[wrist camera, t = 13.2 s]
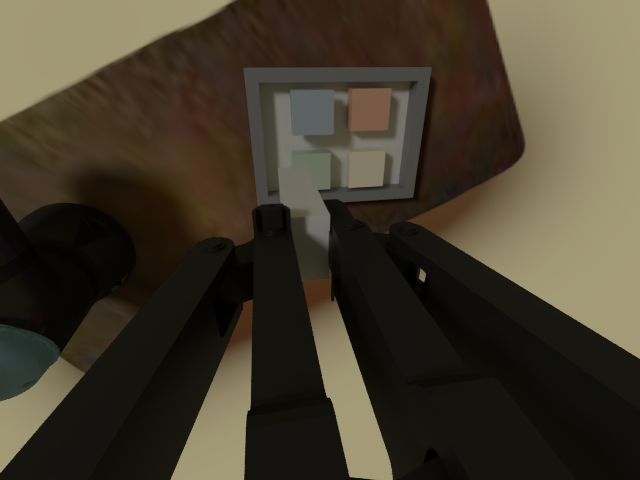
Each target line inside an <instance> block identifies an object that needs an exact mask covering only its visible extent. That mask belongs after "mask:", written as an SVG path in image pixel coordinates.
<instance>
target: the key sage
mask: <svg viewBox="0 0 640 480" xmlns="http://www.w3.org/2000/svg"><path fill="white" fill-rule="evenodd" d="M291 152H292V167H305V166H306V167H307V169H308V171H309V173H310V175H311V177H312V179H313V181H314V183H315V185H316V188H317V190H323V189H330V161H331V153H330V152H329V151H328V150H327V149H320V150H296V151H291Z"/></svg>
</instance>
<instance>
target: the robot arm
mask: <svg viewBox="0 0 640 480" xmlns="http://www.w3.org/2000/svg"><path fill="white" fill-rule="evenodd" d="M278 175H279V191H280V203H278V204H262V205H260V206H258V207H256V208H255V209H253V211H252V217H253V226H254V239H252V240H251V241H250V242H247V243H245V244H242V245H239V246H235V245H234V242H233V241H232V240H230V239H228V238H222V237H217V238H216V237H212V238H208V239H205V240H203V241H201V242H199V243H197V244H196V245H195V246H194V247H193V248H192V249H191V250H190V252H189V253H188V254H187V255H186V256H185V258H184V259H183V260H182V261H181V262H180V263H179V265H178V266H177V267H176V268H175V269H174V270H173V272H172V273H171V274H170V275H169V276H168V277H167V279H166V280H165V281H164V282H163V283H162V284H161V286H160V287H159V288H158V289H157V290H156V291H155V293H154V294H153V295H152V296H151V297H150V299H149V300H148V301H147V302H146V303H145V304H144V306H143V307H142V308H141V309H140V310H139V311H138V313H137V314H136V315H135V316H134V317H133V318H132V320H131V321H130V322H129V323H128V324H127V325H126V327H125V328H124V329H123V330H122V331H121V332H120V334H119V335H118V336H117V337H116V338H115V340H114V341H113V342H112V343H111V344H110V345H109V347H108V348H107V349H106V350H105V351H104V352H103V354H102V355H101V356H100V357H99V358H98V359H97V361H96V362H95V363H94V364H93V365H92V366H91V368H90V369H89V370H88V371H87V372H86V373H85V375H84V376H83V377H82V378H81V379H80V381H79V382H78V383H77V384H76V386H75V387H74V388H73V389H72V390H71V391H70V392H69V393H68V395H67V396H66V397H65V398H64V399H63V401H62V402H61V403H60V404H59V405H58V406H57V408H56V409H55V410H54V411H53V412H52V413H51V415H50V416H49V417H48V418H47V419H46V420H45V422H44V423H43V424H42V425H41V426H40V427H39V429H38V430H37V431H36V432H35V433H34V434H33V436H32V437H31V438H30V439H29V440H28V441H27V443H26V444H25V445H24V446H23V447H22V448H21V450H20V451H19V452H18V453H17V454H16V455H15V457H14V458H13V459H12V460H11V461H10V463H9V464H8V465H7V466H6V467H5V468H4V470H3V471H2V472H1V473H0V480H170V479H171V476H172V475H173V472H174V470H175V468H176V465H177V463H178V461H179V458H180V456H181V453H182V451H183V449H184V446H185V444H186V442H187V439H188V437H189V435H190V432H191V430H192V428H193V425H194V423H195V421H196V418H197V416H198V413H199V411H200V409H201V406H202V404H203V402H204V399H205V397H206V395H207V392H208V390H209V388H210V385H211V383H212V381H213V378H214V376H215V373H216V371H217V368H218V366H219V364H220V362H221V359H222V357H223V355H224V352H225V350H226V347H227V344H228V343H229V341H230V338H231V336H232V333H233V331H234V329H235V326H236V324H237V322H238V319H239V317H240V315H241V312H242V310H243V302H246V301H249V300H252V299H253V323H252V373H251V375H252V376H251V409H250V411H248V413H247V421H246V443H245V445H246V446H245V474H244V480H371V479H363V478H352V477H349V473H348V468H347V464H346V459H345V455H344V451H343V446H342V442H341V437H340V433H339V429H338V425H337V420H336V415H335V411H334V408H333V404H332V401H331V399H330V398H327V396H326V393H325V389H324V384H323V379H322V374H321V369H320V365H319V360H318V356H317V350H316V346H315V341H314V336H313V331H312V327H311V322H310V317H309V312H308V308H307V303H306V299H305V294H304V289H303V284H302V281H305V280H316V279H327V278H329V267H330V270H331V273H332V283H331V301H334V296H335V297H336V300H337V303H338V306H339V309H340V312H341V315H342V318H343V321H344V324H345V327H346V330H347V333H348V336H349V339H350V342H351V345H352V348H353V351H354V354H355V357H356V360H357V363H358V366H359V369H360V372H361V375H362V378H363V381H364V384H365V387H366V390H367V393H368V396H369V398H370V401H371V405H372V407H373V411H374V414H375V417H376V419H377V423H378V425H379V429H380V431H381V434H382V438H383V441H384V443H385V447H386V449H387V452H388V455H389V459H390V463H391V468H392V475H393V480H640V359H639V358H637V357H636V356H634V355H632V354H631V353H629V352H627V351H626V350H624V349H623V348H621V347H619V346H618V345H616V344H614V343H613V342H611V341H609V340H608V339H606V338H604V337H602V336H601V335H599V334H598V333H596V332H594V331H593V330H591V329H590V328H588V327H586V326H585V325H583V324H581V323H580V322H578V321H577V320H575V319H573V318H572V317H570V316H568V315H566V314H565V313H563V312H562V311H560V310H558V309H557V308H555V307H553V306H552V305H550V304H549V303H547V302H545V301H544V300H542V299H540V298H538V297H537V296H535V295H534V294H532V293H530V292H529V291H527V290H526V289H524V288H522V287H521V286H519V285H517V284H516V283H514V282H512V281H511V280H509V279H508V278H506V277H504V276H503V275H501V274H499V273H498V272H496V271H494V270H493V269H491V268H489V267H488V266H486V265H485V264H483V263H481V262H480V261H478V260H476V259H475V258H473V257H471V256H470V255H468V254H466V253H465V252H463V251H462V250H460V249H458V248H457V247H455V246H453V245H452V244H450V243H448V242H447V241H445V240H443V239H442V238H440V237H439V236H437V235H435V234H434V233H432V232H430V231H429V230H427V229H425V228H424V227H422V226H420V225H417V224H413V223H411V222H401V223H395V224H392V225H391V226H390V229H389V234H384V233H374V232H372V231H371V229H370V228H369V226H368V225H367V224H366V223H365V222H363V221H360V220H357V219H354V217H353V216H352V214H351V213H350V212H349V210H348V208H347V207H346V205H345V204H344V202H342V201H340V200H338V199H329V200H322V198H321V196H320V194H319V192H318V190H317V188H316V185H315V183H314V181H313V179H312V177H311V175H310V173H309V171H308V169H307V167H306V166H305V167H283V168H278ZM135 259H136V254H135V248H134V245H133V242H132V240H131V238H130V236H129V235H128V233H127V232H126V231H125V230H124V228H123V227H122V226H121V225H120V224H119V223H117V222H116V221H115V220H114V219H112V218H111V217H109V216H108V215H106V214H104V213H103V212H101V211H98V210H96V209H94V208H91V207H88V206H84V205H80V204H73V203H57V204H51V205H47V206H44V207H41V208H39V209H37V210H35V211H34V212H32V213H30V214H29V215H27V216H26V217H24V218H23V219H22V220H21V221H20V222H19V223H17V222H16V220H15V219H14V217H13V216H12V215H11V213H10V212H9V210H8V209H7V207H6V206H5V204H4V203H3V202H2V200H1V199H0V401H3V400H6V399H10V398H12V397H15V396H17V395H19V394H21V393H23V392H25V391H27V390H28V389H30V388H31V387H32V386H33V385H35V384H36V383H37V382H38V380H39V379H40V378H41V377H42V375H43V374H44V373H45V372H46V371H47V369H48V368H49V367H50V366H51V365H52V364H54V363H55V362H56V361H57V359H58V357H59V355H60V353H61V352H62V351H63V349H64V348H65V346H66V345H67V343H68V342H69V340H70V339H71V337H72V336H73V334H74V333H75V331H76V330H77V328H78V327H79V325H80V324H81V322H82V321H83V319H84V318H85V317H86V315H87V314H88V312H89V311H90V309H91V308H92V306H93V305H94V303H96V302H98V301H99V300H101V299H102V298H104V297H106V296H107V295H109V294H110V293H112V292H114V291H115V290H117V289H118V288H119V287H120V286H121V285H122V284H123V283H124V282H125V281H126V280H127V278H128V277H129V275H130V273H131V272H132V270H133V268H134V265H135ZM420 269H422V270H423V271H424V272H425V273H426V278H425V281H424V282H422V281H421V280H420V279H419V274H420Z"/></svg>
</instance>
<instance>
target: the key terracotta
mask: <svg viewBox="0 0 640 480" xmlns="http://www.w3.org/2000/svg"><path fill="white" fill-rule="evenodd" d="M391 90H392V88H386V87H379V88H348V105H347V129H348V130H350V131H377V130H388V122H389V112H390V101H391Z"/></svg>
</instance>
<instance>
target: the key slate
mask: <svg viewBox="0 0 640 480" xmlns="http://www.w3.org/2000/svg"><path fill="white" fill-rule="evenodd" d="M290 106H291V129H292V134H293V136H302V135H331V134H334V90H333V89H290Z"/></svg>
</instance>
